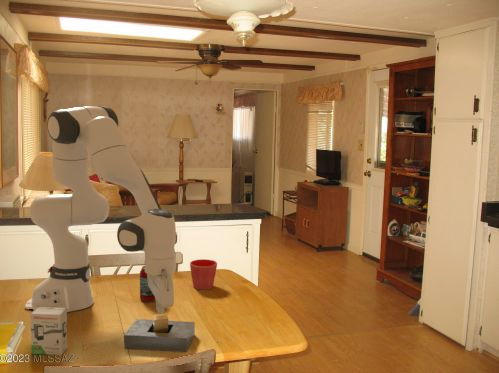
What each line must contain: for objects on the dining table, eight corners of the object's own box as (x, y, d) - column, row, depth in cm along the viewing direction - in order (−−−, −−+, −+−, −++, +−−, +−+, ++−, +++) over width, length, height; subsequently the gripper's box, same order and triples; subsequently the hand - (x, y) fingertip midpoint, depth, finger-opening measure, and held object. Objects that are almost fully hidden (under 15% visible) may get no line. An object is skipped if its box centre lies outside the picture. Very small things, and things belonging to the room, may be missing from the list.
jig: (124, 348, 144) (124, 335, 144) (136, 331, 156) (136, 319, 156) (186, 352, 143) (186, 338, 142) (194, 334, 155) (194, 322, 154)
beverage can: (136, 300, 183) (136, 268, 182) (146, 294, 190) (146, 263, 188) (152, 303, 181) (152, 270, 179) (162, 297, 187) (162, 265, 186)
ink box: (30, 354, 139) (28, 313, 138) (37, 346, 144) (36, 306, 143) (61, 355, 139) (60, 313, 138) (68, 347, 144) (67, 307, 143)
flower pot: (222, 286, 201) (223, 262, 200) (202, 292, 193) (203, 268, 192) (203, 280, 208) (204, 257, 207) (184, 286, 200) (184, 262, 199)
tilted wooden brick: (154, 344, 147) (154, 319, 146) (153, 339, 151) (153, 314, 150) (168, 343, 148) (168, 318, 147) (166, 338, 152) (166, 313, 151)
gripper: (179, 274, 138) (179, 323, 140) (163, 256, 157) (163, 299, 159) (156, 276, 136) (156, 326, 137) (143, 257, 155) (143, 301, 156)
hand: (160, 311), depth 148 cm, fingers closed
